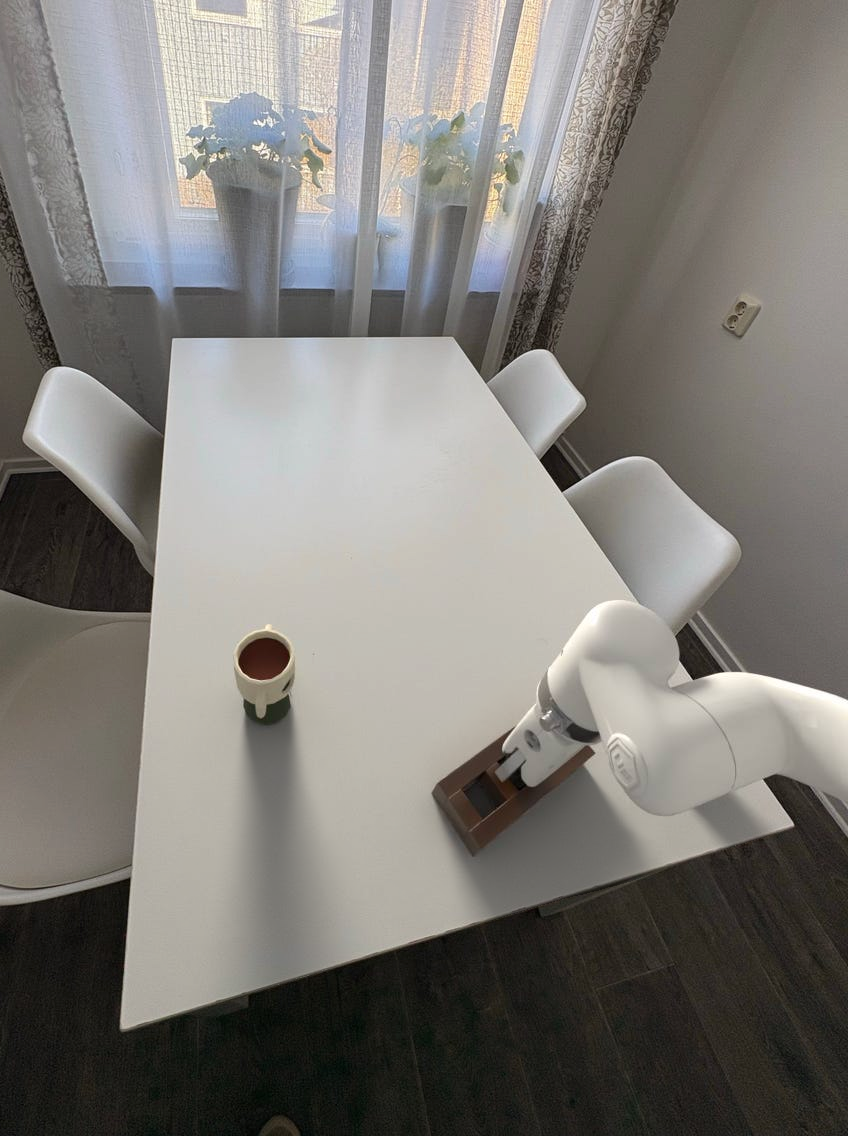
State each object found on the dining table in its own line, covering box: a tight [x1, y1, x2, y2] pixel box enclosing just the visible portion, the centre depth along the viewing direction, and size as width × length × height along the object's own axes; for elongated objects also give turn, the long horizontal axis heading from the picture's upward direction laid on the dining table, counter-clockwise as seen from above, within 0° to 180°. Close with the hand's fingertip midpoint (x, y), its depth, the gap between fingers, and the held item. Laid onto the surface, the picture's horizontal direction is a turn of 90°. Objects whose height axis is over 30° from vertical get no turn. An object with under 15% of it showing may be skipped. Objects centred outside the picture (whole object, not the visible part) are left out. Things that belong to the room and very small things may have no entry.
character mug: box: [232, 623, 296, 725], centre depth 66 cm, size 11×7×13 cm, turn 2°
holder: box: [431, 723, 596, 857], centre depth 66 cm, size 8×19×4 cm, turn 123°
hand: (522, 765), depth 63 cm, fingers closed on peg, 3 cm apart
